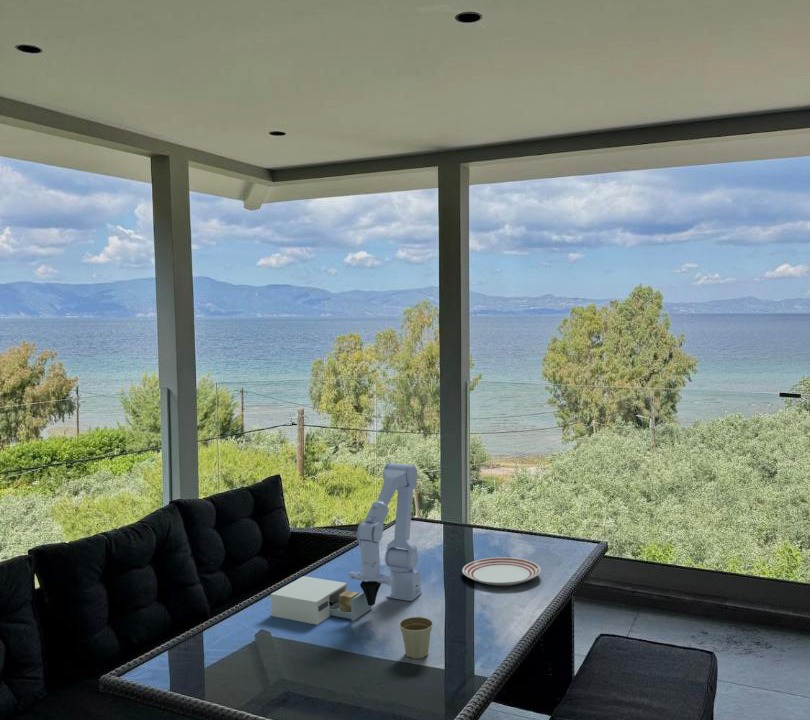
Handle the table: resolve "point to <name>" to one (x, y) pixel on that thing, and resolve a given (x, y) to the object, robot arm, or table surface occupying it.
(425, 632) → the flower pot
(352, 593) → the oak block
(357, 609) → the sliding drawer
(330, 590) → the player box
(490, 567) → the dinner plate
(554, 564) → the table surface
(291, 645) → the table surface
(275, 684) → the table surface
